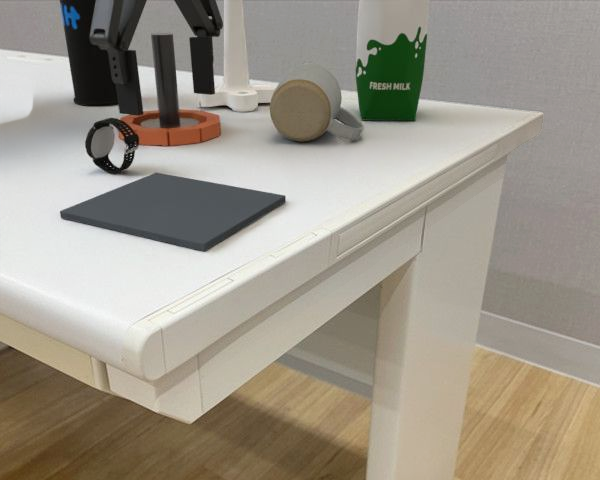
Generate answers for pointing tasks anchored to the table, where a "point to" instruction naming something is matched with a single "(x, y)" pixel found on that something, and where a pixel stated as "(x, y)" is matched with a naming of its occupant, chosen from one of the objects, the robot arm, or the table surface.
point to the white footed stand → (236, 67)
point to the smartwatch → (110, 144)
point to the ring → (174, 129)
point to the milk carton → (390, 57)
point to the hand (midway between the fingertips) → (170, 103)
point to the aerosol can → (86, 56)
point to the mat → (175, 210)
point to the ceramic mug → (311, 106)
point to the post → (166, 85)
